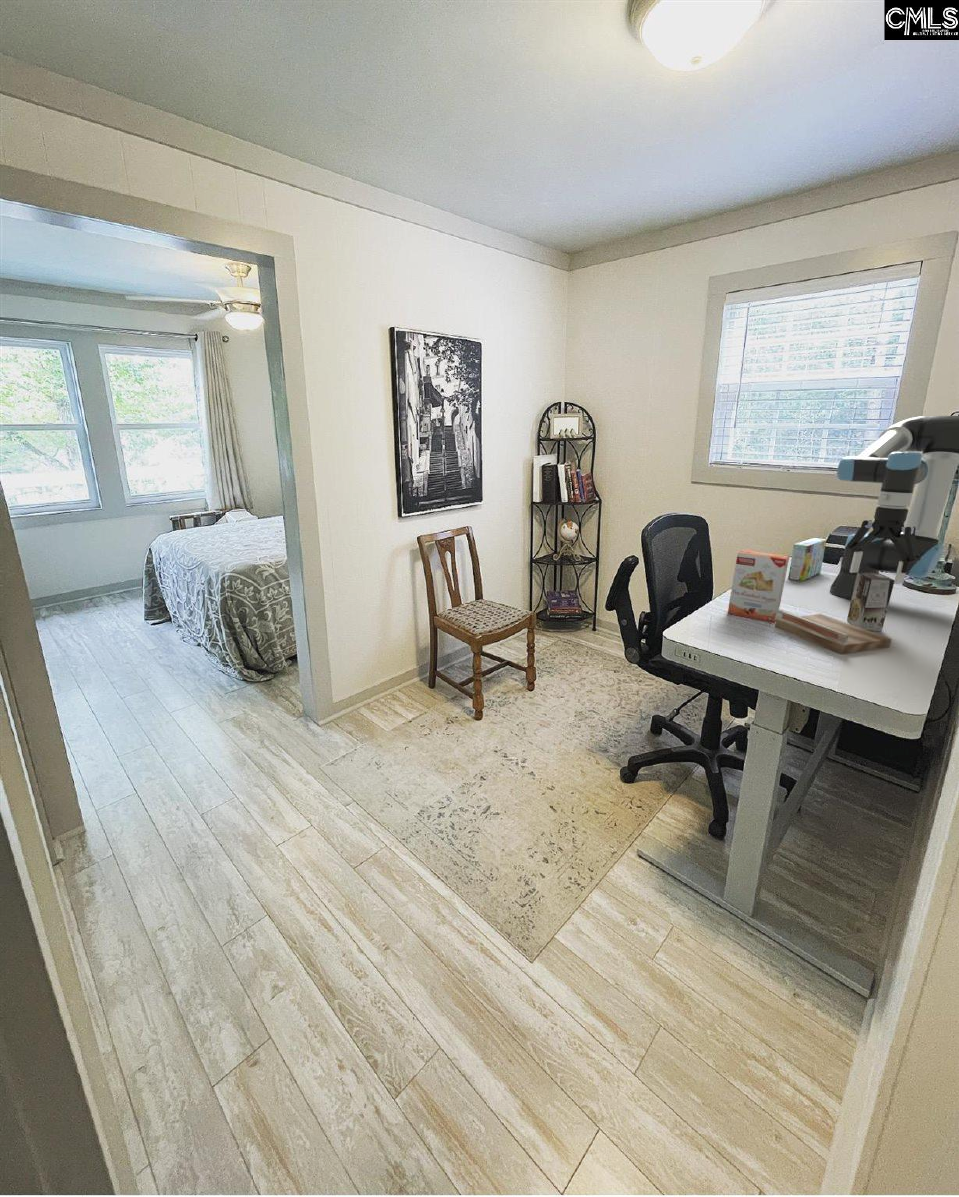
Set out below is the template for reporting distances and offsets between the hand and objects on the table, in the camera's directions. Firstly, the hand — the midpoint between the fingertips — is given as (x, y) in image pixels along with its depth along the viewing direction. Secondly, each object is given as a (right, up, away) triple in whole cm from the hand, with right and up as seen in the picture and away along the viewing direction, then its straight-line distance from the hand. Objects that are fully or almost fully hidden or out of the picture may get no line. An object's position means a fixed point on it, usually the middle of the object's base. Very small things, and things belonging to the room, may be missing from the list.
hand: (875, 577), depth 159 cm
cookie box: (0, -15, +5) cm, 16 cm away
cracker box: (-31, -12, +12) cm, 35 cm away
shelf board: (-17, -17, -4) cm, 25 cm away
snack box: (+17, +3, +63) cm, 65 cm away
